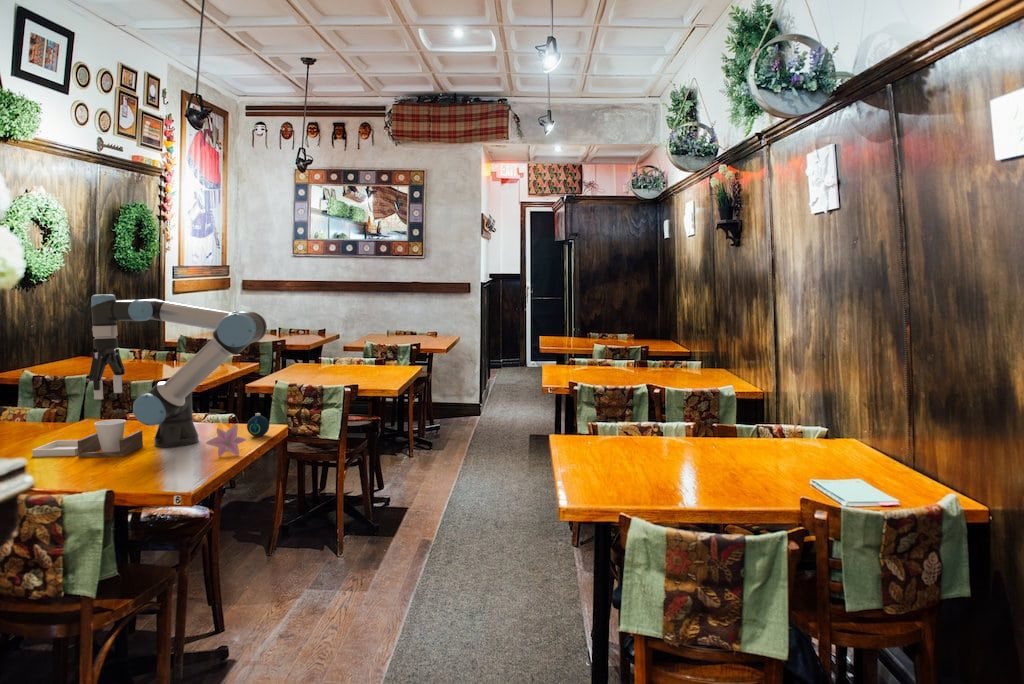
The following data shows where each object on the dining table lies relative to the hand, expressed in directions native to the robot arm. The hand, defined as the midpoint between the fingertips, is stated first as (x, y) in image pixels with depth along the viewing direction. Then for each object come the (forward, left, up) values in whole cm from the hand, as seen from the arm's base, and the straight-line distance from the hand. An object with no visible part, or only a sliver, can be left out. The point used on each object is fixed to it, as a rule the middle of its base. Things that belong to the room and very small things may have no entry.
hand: (108, 395), depth 236 cm
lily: (-43, +6, -21) cm, 48 cm away
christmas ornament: (-46, -21, -21) cm, 55 cm away
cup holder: (0, 0, -21) cm, 21 cm away
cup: (0, 0, -21) cm, 21 cm away
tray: (+17, -2, -21) cm, 27 cm away
